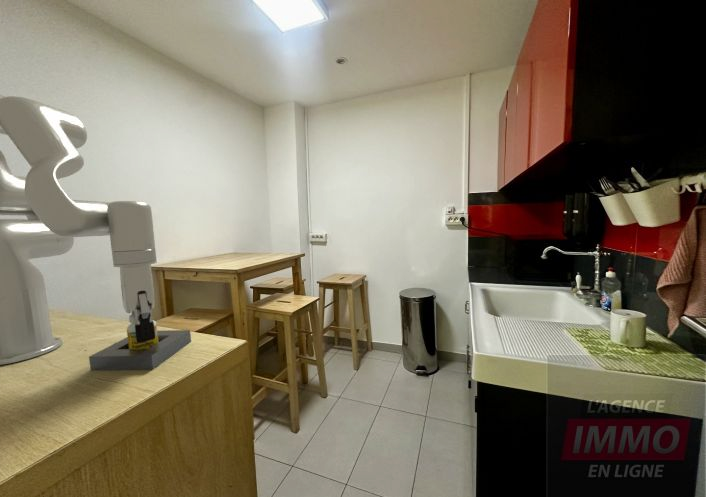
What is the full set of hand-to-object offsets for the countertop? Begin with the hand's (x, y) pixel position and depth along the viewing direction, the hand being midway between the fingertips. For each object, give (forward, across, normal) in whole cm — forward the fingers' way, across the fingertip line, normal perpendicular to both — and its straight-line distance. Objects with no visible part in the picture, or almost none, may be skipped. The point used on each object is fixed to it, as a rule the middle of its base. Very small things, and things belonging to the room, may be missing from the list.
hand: (143, 335), depth 62 cm
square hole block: (+5, 0, 0) cm, 5 cm away
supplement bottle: (+5, 0, 0) cm, 5 cm away
